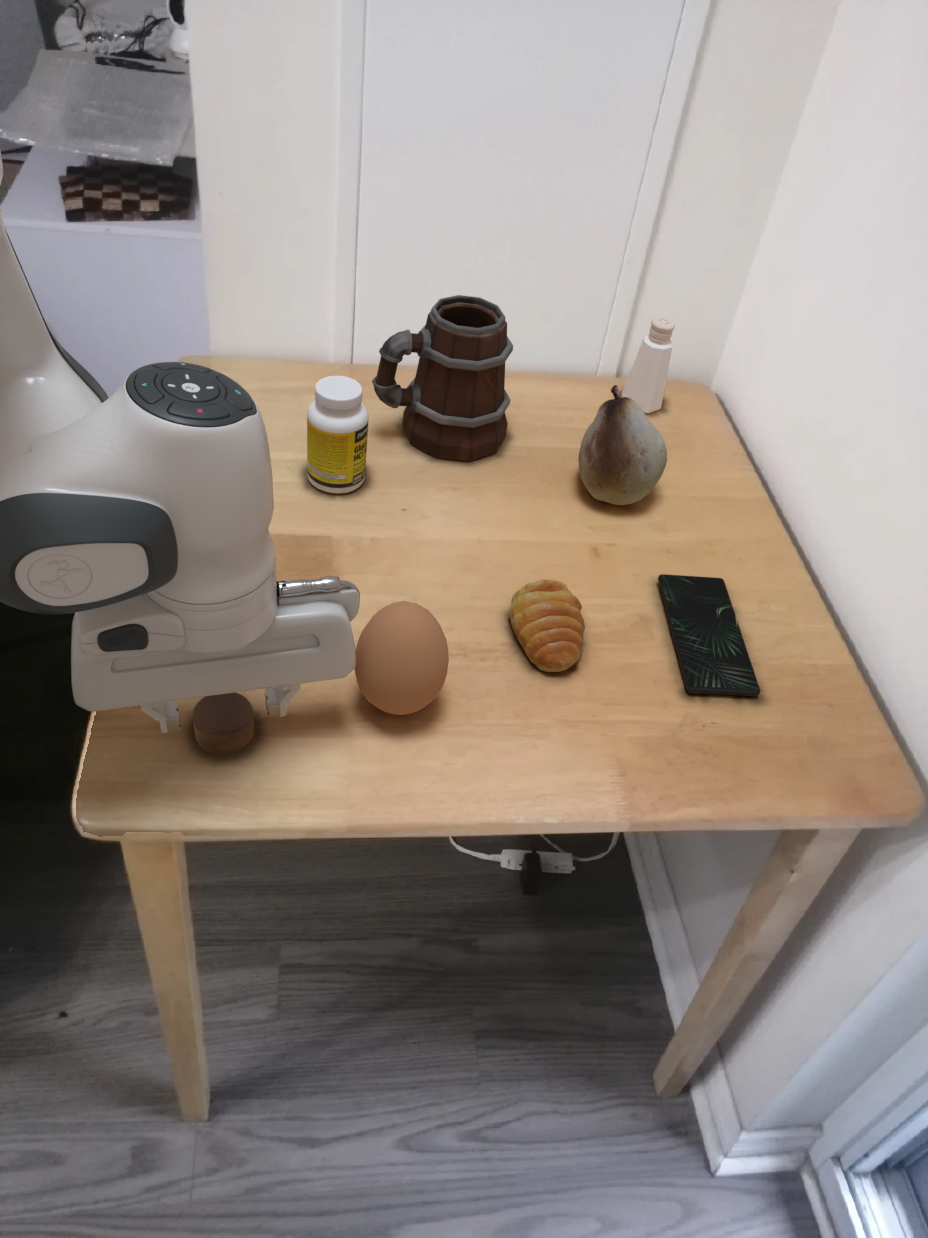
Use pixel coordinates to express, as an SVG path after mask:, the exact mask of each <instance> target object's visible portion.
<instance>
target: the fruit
mask: <svg viewBox="0 0 928 1238" xmlns="http://www.w3.org/2000/svg"><path fill="white" fill-rule="evenodd" d="M610 393H612V396H613V398H612V399H608V400H606V401H604V402H603V403H602V404H600V406H599V407H598V409H597V412H596V415H595V417H594V419H593V421H592V423H590V424H589V425H588V426H587V428H586V430H585V432H584V434H583V437H582V440H581V443H580V447H579V452H578V471H579V476H580V479H581V481H582V484H583V485H584V486H585V489H586V490H587V491H588V493H589V494H590V495H591V496H592V498H594V499H595V500H597V501H601V502H605V503H608V504H609V505H610V504H611V505H614V506H626V505H631V504H635V503H637V502H639V501H641V500H643V499H644V498H646V497H647V496H648V495H649V494H650V493H651V492H652V490H653V489H654V488H655V486H656V485H657V484H658V482H659V481H660V480H661V478H662V476H663V473H664V471H665V469H666V466H667V462H668V449H667V446H666V442H665V440H664V437H663V436H662V433H661V432H660V430H659V429H658V428H657V427H656V425H654V424H653V423H652V422H651V420H649V418H648V417H647V416H646V413H644V412H643V410H642V409H641V407H640V406H639V405H638V404H637V403H636V402H635V401H634V400H632V399H630V398H628V397H623V398H622V396H620V392H619V386H618V385H616V384H615V385H613V386H612V387H611V389H610Z"/></svg>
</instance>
